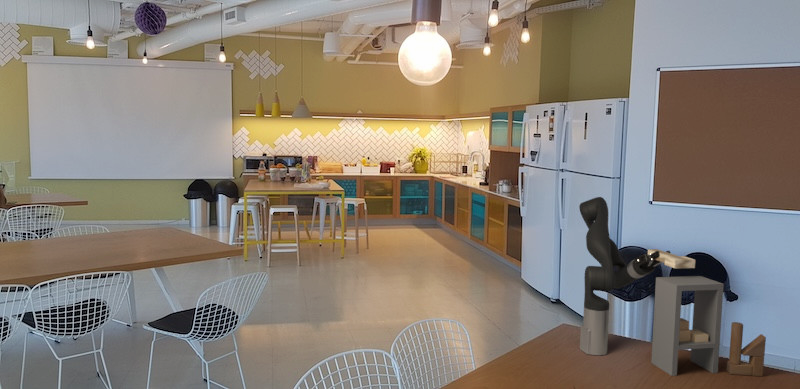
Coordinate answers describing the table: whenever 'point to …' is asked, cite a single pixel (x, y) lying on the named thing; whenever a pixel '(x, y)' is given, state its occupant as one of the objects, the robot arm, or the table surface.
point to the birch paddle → (673, 259)
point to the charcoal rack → (687, 323)
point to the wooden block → (745, 353)
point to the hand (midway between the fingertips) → (664, 253)
